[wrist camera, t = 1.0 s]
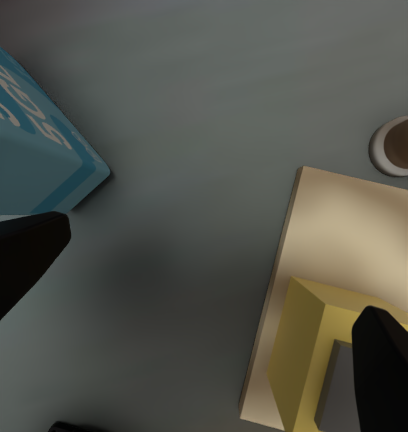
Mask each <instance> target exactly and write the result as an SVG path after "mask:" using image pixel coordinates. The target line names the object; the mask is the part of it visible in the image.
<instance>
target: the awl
mask: <svg viewBox="0 0 408 432" xmlns="http://www.w3.org/2000/svg"><path fill="white" fill-rule="evenodd" d="M369 156H370V159H371V161H372V163H373V165H374V166H375V167H376V168H377V170H379V171H380V172H381V173H383V174H385V175H388V176H392V177H402V176H407V175H408V116H402V117H398V118H396V119H394V120H392V121H390V122H388V123H386V124H384V125H382V126H381V127H380V128H378V129H377V130H376V131H375V133H374V134H373V136H372V138H371V140H370V143H369Z"/></svg>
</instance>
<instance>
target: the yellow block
mask: <svg viewBox="0 0 408 432" xmlns="http://www.w3.org/2000/svg"><path fill="white" fill-rule="evenodd" d="M368 305H372V306H375V307H379V308H382V309H385V310H387V311H388V312H389V313H390V314H391V315H392V316H393V317H394V318H395V319H396V320H397V321H398V322H399V323H400V324H401V325H402V326H403V327H404V328H405V329H406V330H407V331H408V313H407V312H405V311H403V310H401V309H399V308H397V307H395V306H393V305H391V304H389V303H388V302H386V301H384V300H382V299H380V298H377V297H373V296H369V295H365V294H361V293H357V292H353V291H349V290H345V289H341V288H337V287H333V286H329V285H325V284H322V283H318V282H314V281H310V280H306V279H302V278H298V277H294V276H291V278H290V282H289V286H288V290H287V294H286V298H285V302H284V306H283V310H282V314H281V318H280V322H279V326H278V330H277V334H276V338H275V342H274V346H273V350H272V354H271V358H270V362H269V366H268V370H267V377H268V380H269V383H270V387H271V390H272V393H273V396H274V399H275V402H276V405H277V408H278V411H279V414H280V418H281V421H282V424H283V427H284V430H285V432H361V431H360V425H359V418H358V412H357V406H356V399H355V391H354V376H353V356H352V335H351V331H352V326H353V324H354V322H355V321H356V320H357V318H358V317H359V315H360V314H361V312H362V311H363V309H364V308H365V307H366V306H368Z"/></svg>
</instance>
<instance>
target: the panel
mask: <svg viewBox="0 0 408 432" xmlns="http://www.w3.org/2000/svg"><path fill="white" fill-rule="evenodd" d="M291 276H294V277H298V278H302V279H306V280H310V281H314V282H318V283H322V284H325V285H329V286H333V287H337V288H341V289H345V290H349V291H353V292H357V293H361V294H365V295H369V296H373V297H377V298H380V299H382V300H384V301H386V302H388V303H389V304H391V305H393V306H395V307H397V308H399V309H401V310H403V311H405V312H407V313H408V190H405V189H400V188H396V187H392V186H388V185H383V184H379V183H375V182H370V181H366V180H362V179H358V178H353V177H349V176H345V175H341V174H336V173H332V172H328V171H323V170H319V169H315V168H311V167H306V166H302V167H300V168H299V169H298V170H297V174H296V178H295V182H294V186H293V190H292V194H291V198H290V202H289V206H288V210H287V214H286V218H285V222H284V226H283V230H282V234H281V238H280V242H279V246H278V250H277V254H276V258H275V262H274V266H273V270H272V274H271V278H270V282H269V286H268V290H267V294H266V298H265V302H264V306H263V310H262V314H261V318H260V322H259V326H258V330H257V334H256V338H255V342H254V346H253V350H252V354H251V358H250V362H249V366H248V370H247V374H246V378H245V382H244V386H243V390H242V394H241V398H240V402H239V413H240V418H241V419H244V420H248V421H251V422H255V423H259V424H262V425H266V426H270V427H273V428H277V429H281V430H284V427H283V424H282V421H281V418H280V414H279V411H278V408H277V405H276V402H275V399H274V396H273V393H272V390H271V387H270V383H269V380H268V377H267V370H268V366H269V362H270V358H271V354H272V350H273V346H274V342H275V338H276V334H277V330H278V326H279V322H280V318H281V314H282V310H283V306H284V302H285V298H286V294H287V290H288V286H289V282H290V278H291ZM284 431H285V430H284Z"/></svg>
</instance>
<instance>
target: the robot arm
mask: <svg viewBox="0 0 408 432" xmlns="http://www.w3.org/2000/svg"><path fill="white" fill-rule="evenodd" d="M70 239H71V230H70V224H69V218H68V216H67V215H66V214H64V213H61V212H57V211H50V212H45V213H41V214H36V215H31V216H26V217H21V218H16V219H11V220H6V221H1V222H0V320H1V319H2V318H3V317H4V316H5V315H6V314H7V313H8V312H9V311H10V310H11V309H12V308H13V307H14V306H15V305H16V303H17V302H18V301H19V300H20V299H21V298H22V297H23V296H24V295H25V294H26V293H27V292H28V291H29V290H30V289H31V288H32V287H33V286H34V285H35V284H36V283H37V281H38V280H39V279H40V278H41V277H42V276H43V274H44V273H45V272H46V271H47V269H48V268H49V267H50V266H51V264H52V263H53V262H54V261H55V259H56V258H57V257H58V256H59V254H60V253H61V252H62V251H63V249H64V248H65V247H66V246H67V244H68V243H69V241H70ZM351 335H352V356H353V376H354V391H355V399H356V406H357V412H358V418H359V425H360V431H361V432H408V331H407V330H406V329H405V328H404V327H403V326H402V325H401V324H400V323H399V322H398V321H397V320H396V319H395V318H394V317H393V316H392V315H391V314H390V313H389V312H388V311H387V310H385V309H382V308H379V307H375V306H372V305H368V306H366V307H365V308H364V309H363V311H362V312H361V314H360V315H359V317H358V318H357V320H356V321H355V322H354V324H353V326H352V331H351ZM55 430H56V431H57V432H90V431H87V430H83V429H79V428H76V427H72V426H69V425H65V424H62V423H54V424H53V425H52V426H51V428H50V429H49V431H48V432H55Z"/></svg>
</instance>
